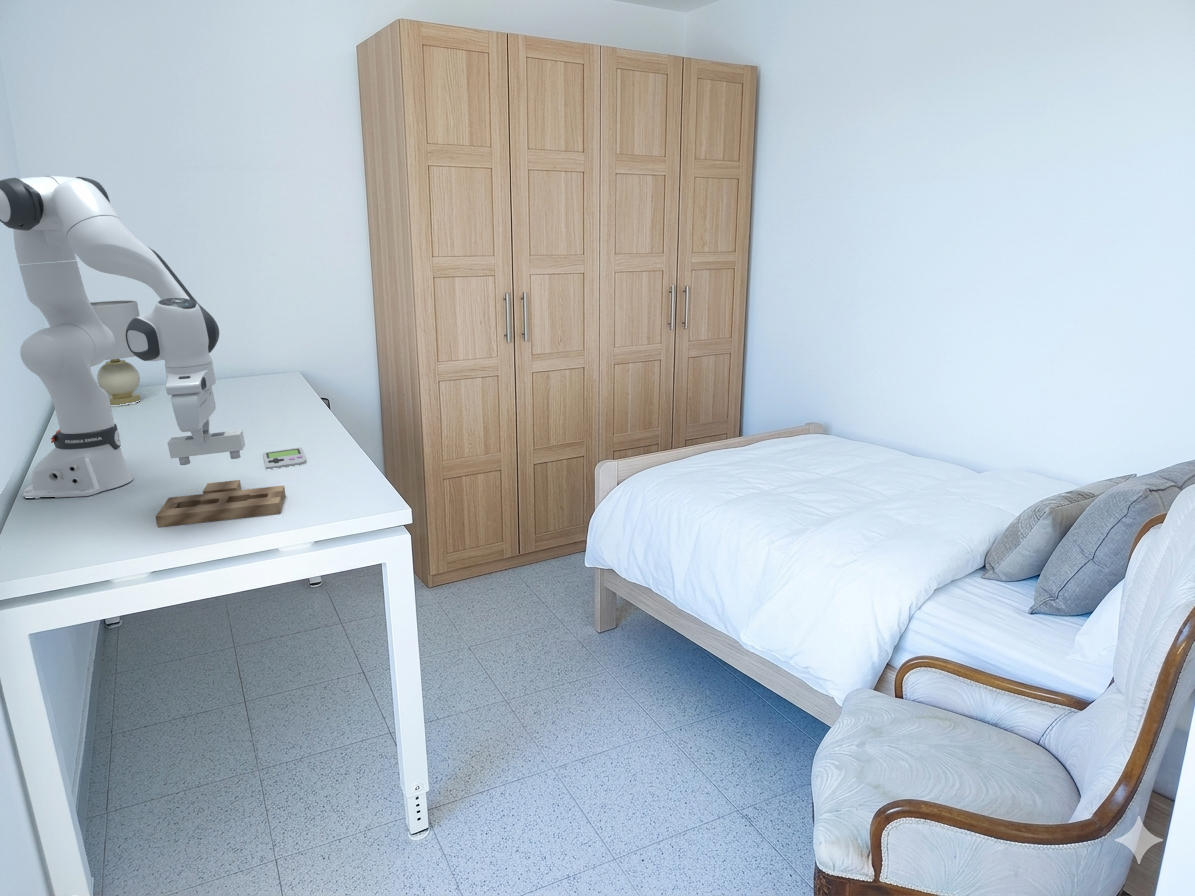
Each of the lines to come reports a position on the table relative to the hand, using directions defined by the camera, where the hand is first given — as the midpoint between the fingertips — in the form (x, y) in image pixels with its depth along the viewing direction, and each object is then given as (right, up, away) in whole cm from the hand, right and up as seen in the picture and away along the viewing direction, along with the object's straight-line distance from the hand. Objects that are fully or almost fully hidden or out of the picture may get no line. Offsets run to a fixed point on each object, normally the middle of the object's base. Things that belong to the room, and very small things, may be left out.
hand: (203, 441), depth 167 cm
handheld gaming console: (+1, -5, +42) cm, 42 cm away
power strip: (+1, -2, +1) cm, 2 cm away
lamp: (-86, +15, +115) cm, 144 cm away
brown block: (-3, -12, +15) cm, 19 cm away
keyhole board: (+2, -15, +5) cm, 16 cm away
